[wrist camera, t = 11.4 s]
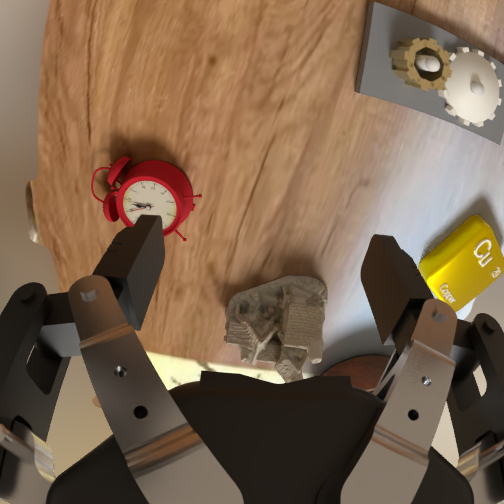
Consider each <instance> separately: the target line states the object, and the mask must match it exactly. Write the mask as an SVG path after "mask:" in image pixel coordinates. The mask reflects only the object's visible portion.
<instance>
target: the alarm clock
mask: <svg viewBox="0 0 504 504" xmlns="http://www.w3.org/2000/svg"><path fill="white" fill-rule="evenodd" d="M128 161H131V158H129V157H127V156H124V157H121V158H120V159H119V160H118V161H117V162H116V163H115V164H114V165H112V164H111V163H110V164H109V165H110V166H111V168H108V167H101V168H98V169H97V170H96V171H95V172H94V174H93V177H92V182H91V190H92V194H93V196H94V197H95V198H96V199H97V200H98V201H100V202H102V203H103V211H104V214H105V217H106V218H107V220H108V221H111V222H115V221H117V220H118V219H119V217H120V218H121V220H122V221H123V223H124V224H125V225H126V226H127V227H133V226H134V224H135V222H136V221H137V219H138V218H139V216H140V215H141V214H147V215H160V216H161V218H162V224H163V236H167V235H169V234H171V233H172V232H173V231H175V232H176V233H177V234H178V235H179V236H180V237H181V238H182V239H183V241H186V238H184V237H183V236H182V235H181V234H180V233H179V232H178V231H177V230H176V229H177V228H178V226H179V225H180V224H181V223H182V222H183V221H184V220H185V219H186V218H187V217H188V215H189V213H190V211H193V210H194V207H195V205H193V198H194V197H199V198H201V197H202V195H201V194H199V195H195V196H193V191H192V188H191V185H190V183H189V181H188V179H187V178H186V176H185V175H184V174H183V173H182V172H181V171H180V170H179V169H178V168H176V167H175V166H173V165H171V164H169V163H167V162H164V161H159V160H149V161H144V162H141V163H139V164H137V165H135V166H134V167H133V168H132V169H131V170H130V171H129V172H128V173H127V174H126V176H125V177H124V179H123V182H122V183H121V182H120V181H118V179H119V177H120V176H121V175H122V173H123V172H122V171H121V169H122V168H123V166H124V165H125V164H126V163H127V162H128ZM101 169H109V170H110V171H109V174H108V177H107V180H108V183H109V184H110V185H113V184H114V183H115V182H116V181H117V182H119V183H120V184H121V187H120V189H118V188H114V186H112V187H111V189H112V190H113V189H116V190H119V191H118V192H117V191H112V192H110V193H108V194H107V195H106V197H105V199H104V201H102V200H100V199H99V198H97V197H96V196H95V194H94V191H93V180H94V176H95V174H96V172H97V171H98V170H101ZM116 194H117V197H115V195H116ZM114 198H117V200H116V204H115V201H114Z"/></svg>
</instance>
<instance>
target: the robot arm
mask: <svg viewBox="0 0 504 504" xmlns="http://www.w3.org/2000/svg"><path fill="white" fill-rule="evenodd" d="M164 259H165V247H164V236H163V224H162V218H161V216H160V215H147V214H141V215H140V216H139V218H138V219H137V221H136V222H135V224H134V226H133V227H126V228H124V229H123V230H122V231H120V232H119V233H118V234H117V235H116V236H115V238H114V239H113V241H112V244H110V246H109V247H108V249H107V251H106V252H105V254H104V255H103V257H102V259H101V260H100V262H99V264H98V265H97V267H96V269H95V270H94V272H93V274H92V275H90V276H85V277H83V278H80V279H79V280H77V281H76V282H74V283H73V284H72V286H71V287H70V289H69V291H68V292H64V293H57V294H49V295H48V294H47V292H46V290H45V288H44V286H43V285H42V284H40V283H36V282H32V283H28V284H25V285H23V286H21V287H20V288H18V289H17V290H16V291H15V292H14V294H13V295H12V296H11V298H10V300H9V302H8V303H7V305H6V307H5V308H4V310H3V312H2V313H1V315H0V500H2V501H5V502H9V503H11V504H503V503H504V333H503V331H502V328H501V327H500V325H499V324H498V322H497V321H496V320H495V319H494V318H493V317H491V316H490V315H488V314H485V313H480V314H477V315H476V317H475V318H474V319H473V321H472V322H467V321H464V320H460V319H457V315H456V313H455V311H454V310H453V309H452V307H451V306H449V305H448V304H447V303H445V302H444V301H442V300H439V299H435V298H434V297H433V295H432V293H431V291H430V289H429V287H428V285H427V284H426V282H425V280H424V278H423V276H421V273H420V271H419V269H417V266H416V264H415V263H414V261H413V259H412V258H411V257H410V256H409V255H408V254H407V253H406V252H405V251H404V250H401V248H400V247H399V245H398V243H397V242H396V240H395V238H394V237H393V236H387V235H378V234H375V235H373V237H372V238H371V241H370V244H369V247H368V250H367V253H366V256H365V258H364V261H363V264H362V267H361V282H362V284H363V287H364V290H365V293H366V296H367V298H368V301H369V304H370V307H371V310H372V313H373V316H374V319H375V322H376V325H377V328H378V331H379V334H380V337H381V341H382V344H383V345H395V347H396V350H395V351H394V353H393V354H392V356H391V358H390V360H389V362H388V364H387V366H386V368H385V370H384V372H383V374H382V376H381V378H380V380H379V382H378V384H377V386H376V388H375V390H374V391H373V393H370V392H368V391H366V390H363V389H361V388H357V387H354V386H352V384H351V379H350V376H315V377H311V378H307V379H302V380H298V381H293V382H289V383H284V384H275V383H271V382H267V381H263V380H259V379H256V378H252V377H249V376H245V375H242V374H235V373H222V372H211V371H201V378H200V381H196V382H191V383H186V384H183V385H180V386H177V387H175V388H173V389H171V390H167V389H166V387H165V385H164V384H163V382H162V380H161V379H160V377H159V375H158V373H157V372H156V370H155V368H154V366H153V365H152V363H151V361H150V359H149V357H148V356H147V354H146V352H145V350H144V348H143V346H142V344H141V342H140V341H139V339H138V337H137V335H136V333H135V331H134V330H138V331H140V330H141V327H142V324H143V321H144V318H145V315H146V312H147V309H148V306H149V303H150V300H151V298H152V295H153V292H154V289H155V286H156V284H157V281H158V278H159V276H160V273H161V270H162V268H163V264H164ZM33 345H34V349H33V351H32V353H31V356H30V358H29V361H28V363H27V360H28V357H29V355H30V352H31V350H32V348H33ZM80 355H82V357H83V360H84V363H85V366H86V368H87V371H88V374H89V377H90V380H91V382H92V385H93V388H94V390H95V393H96V395H97V398H98V400H99V403H100V405H101V407H102V410H103V412H104V414H105V417H106V419H107V421H108V423H109V426H110V428H111V430H112V432H113V435H111V436H110V437H109V438H107V439H106V440H105V441H104V442H102V443H101V444H100V445H99V446H97V447H96V448H95V449H93V450H92V451H91V452H89V453H88V454H87V455H85V456H84V457H83V458H82V459H80V460H79V461H78V462H76V463H75V464H74V465H72V466H71V467H70V468H68V469H67V470H65V471H64V472H63V473H61V474H60V475H59V476H58V477H57V478H56V477H55V475H54V472H53V469H54V464H53V455H52V451H51V449H50V447H49V446H48V444H47V443H46V439H47V435H48V431H49V427H50V423H51V420H52V416H53V413H54V409H55V406H56V402H57V399H58V396H59V392H60V389H61V386H62V383H63V380H64V377H65V374H66V371H67V368H68V365H69V362H70V359H71V356H80ZM26 364H27V365H26ZM479 365H481V368H482V370H483V373H484V376H485V378H486V382H487V388H486V392H485V394H484V395H483V396H482V397H481V395H480V392H479V389H478V386H477V383H476V380H475V377H474V375H473V372H474V371H475V370H476V369H477V368H478V366H479ZM446 401H447V404H448V408H449V412H450V416H451V420H452V425H453V429H454V434H455V438H456V443H457V448H458V453H459V460H458V465H457V467H456V468H455V467H454V466H453V465H452V464H450V463H449V462H448V461H447V460H446V459H445V458H444V457H443V456H442V455H441V454H439V453H438V452H437V451H436V450H435V449H434V448H433V447H432V446H431V443H432V441H433V438H434V435H435V433H436V430H437V427H438V424H439V421H440V418H441V415H442V412H443V409H444V405H445V402H446Z"/></svg>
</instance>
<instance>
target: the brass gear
mask: <svg viewBox="0 0 504 504" xmlns="http://www.w3.org/2000/svg"><path fill="white" fill-rule="evenodd" d="M397 43H398V45H397V46H395V48H394V50H390V56H389V58H392V59H393V60H392V65H393V66H394V68H393V69H392V71H393V73H394V74H395V76H396V77H400V78H401V79H402V80H405V81H406V82H405V84H406V85H409V86H411V87H415V88H418V89H421V90H425V91H428V89H429V88H430V89H434V90H438V91H439V90H441V89H443V88H444V85H443V84H444V83H445V82H447V78H451V74H452V70H450V69H449V67H450V63H449V61H448V59H449V58H450V56H449V54H448V52H447V51H446V50H443V49H442V47H441V46H439V45H437V41H436V40H434V39H432V38H402V39H400V40H398V41H397ZM419 50H421V52H422V53H423V55H426V56H433V57H435V58H437V59H438V61H439V62H440V68H439V70H438V71H436V72H431V71H426V70H425V73H424V74H422V75H420V76H419V74H418V72H417V70H416V68H415V66H414V60H415V55H416V52H417V51H419Z"/></svg>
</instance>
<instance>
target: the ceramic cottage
mask: <svg viewBox="0 0 504 504" xmlns="http://www.w3.org/2000/svg"><path fill="white" fill-rule="evenodd" d="M326 304H327V287H326V286H325V285H324V283H323V282H321V281H320V280H318V279H315V278H313V277H308V276H300V275H298V276H296V275H295V276H294V275H288V276H285V277H282V278H279V279H276V280H274V281H271V282H268V283H265V284H261V285H260V286H258V287H255V288H251V289H248V290H245V291H242V292H239V293H237V294H236V295H234V296H233V297H232V298H231V299H230V301H229V303H228V308H227V310H226V319H227V322H226V324H225V325H226V326H225V329H226V330H227V334H226V335H225V336H224V341H225V342H226V344H231V345H236V346H237V348H238V349H239V350H240V351H241V361H242V362H243V363H247V362H250V363H251V364H252V366H253V365H255V364H256V362H257V361H261V362H269V363H275V367H274V368H275V369H276V370H277V371H278V373H279V374H280V375H281V376H282V378H283V379H284V381H285V382H286V383H289V382H293V381H298V380H302V379H303V376H302V367H303V365H304V364H305V362H306V361H307V359H308V357H309V358H310V361H311V362H312V363H320V362H321V360H322V348H323V338H322V325H323V323H324V320H325V313H324V311H325V307H326ZM307 351H308V354H307Z"/></svg>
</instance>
